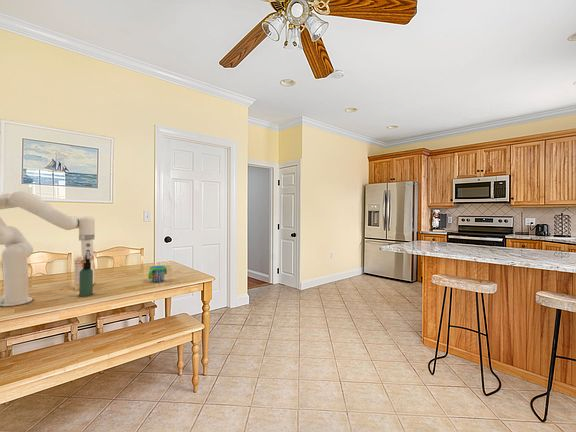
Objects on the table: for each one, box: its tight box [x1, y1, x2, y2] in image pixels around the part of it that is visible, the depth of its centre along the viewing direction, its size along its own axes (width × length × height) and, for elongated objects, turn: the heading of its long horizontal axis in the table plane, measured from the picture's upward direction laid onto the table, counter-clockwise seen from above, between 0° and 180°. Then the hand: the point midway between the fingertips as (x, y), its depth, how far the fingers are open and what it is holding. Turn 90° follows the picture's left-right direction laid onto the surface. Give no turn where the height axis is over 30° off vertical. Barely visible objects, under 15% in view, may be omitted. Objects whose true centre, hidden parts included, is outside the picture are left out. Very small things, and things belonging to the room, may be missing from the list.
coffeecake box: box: [74, 255, 95, 291], centre depth 182 cm, size 15×7×20 cm, turn 21°
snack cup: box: [147, 265, 168, 283], centre depth 198 cm, size 16×10×10 cm
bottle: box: [78, 268, 94, 297], centre depth 165 cm, size 6×6×19 cm
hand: (86, 268), depth 165 cm, fingers closed on cap, 3 cm apart
